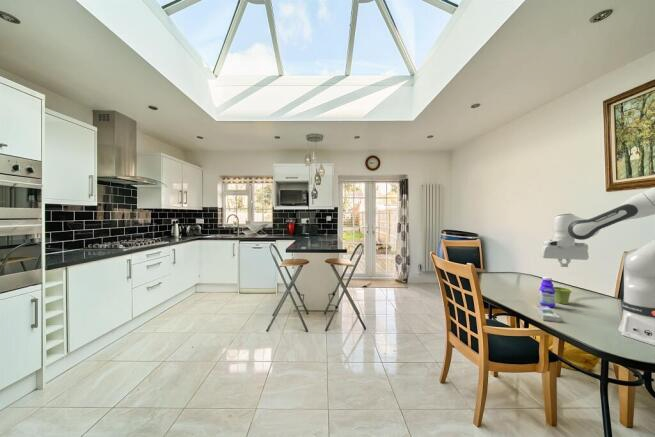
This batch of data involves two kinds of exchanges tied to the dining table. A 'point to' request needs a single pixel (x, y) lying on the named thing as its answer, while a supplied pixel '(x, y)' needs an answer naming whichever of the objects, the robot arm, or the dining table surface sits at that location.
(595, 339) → the dining table surface
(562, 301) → the plant pot
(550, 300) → the bottle
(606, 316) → the dining table surface
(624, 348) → the dining table surface
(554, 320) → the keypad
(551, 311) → the key slate
